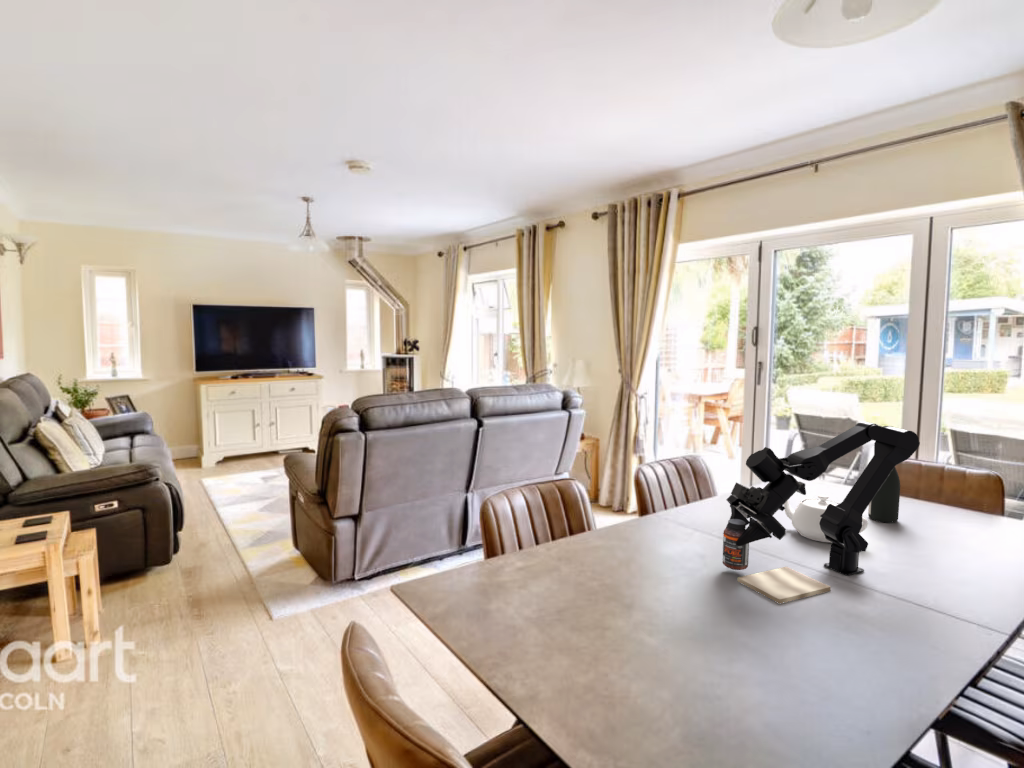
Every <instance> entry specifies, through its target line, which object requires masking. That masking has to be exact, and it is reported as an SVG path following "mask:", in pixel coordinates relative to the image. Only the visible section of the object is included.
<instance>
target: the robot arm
mask: <svg viewBox="0 0 1024 768" xmlns="http://www.w3.org/2000/svg"><path fill="white" fill-rule="evenodd" d="M871 441H875V442H874V445H873V446H874V447H873V456H872V457H871V459H870V461H869V463H867V465H866V467H865V468H864V469H863V471H862V472H861V474H860V475H859V477H858V478H857V480H856V481H855V483H854V484H853V486H852V487H851V488H850V490H849V491H848V493H847V494H846V496H845V497H844V499H843V500H842V502H840V504H838V505H836V506H834V505H832V504H829V505H828V506H827V508H826V510H825V512H824V513H823V514H822V515H820V517H822V518H821V520H820V523H819V524H820V528H821V530H822V532H823V533H824V535H825V538H826V539H827V540H829V541H831V542H830V543H831V544H830V551H829V559H828V562H825V563H823V566H824V567H826V568H828V569H830V570H833V571H834V572H838V573H840V574H841V575H845V576H852V575H855V574H860V573H864V572H865V569H864V568H861V567H859V562H860V561H859V560H860V559H859V558H860V553H861V552H866V551H867V549H868V546H869V543H868V542H867V541H866V540H865V538H864V537H863V536H862V535H861V533H859V532H860V530H861V528H862V523H863V522H862V517H863V514H864V512H865V511H866V510H867V508H869V504H870V502H871V501H872V499H873V498H874V496H875V495H876V493H877V492H878V490H879V489H880V488H881V486H882V485H883V483H884V482H885V480H886V479H887V477H888V476H889V474H890V473H891V471H892V470H893V468H894V467H895V468H896V466H898V465H900V464H901V463H903V462H905V461H907V460H909V459H910V458H911V457H912V456H913V454H915V452H916V451H917V450H918V449H919V446H920V443H921V442H920V438H919V436H918V434H917V433H916V432H914V431H912V430H910V429H909V430H908V429H904V428H899V427H894V426H892V427H886V428H884V427H883V426H881V425H878V424H877V423H873V422H869V421H860V422H858V423H856V424H855V426H852V427H851V428H849V429H847V430H845V431H843V432H841V433H839V434H838V435H836V436H834V437H832V438H830V439H829V440H827V441H826V442H823V443H822V444H820V445H818V446H815V447H812V448H811V447H810V448H805V449H801V450H798V451H795V452H792V453H790V454H788V455H787V456H786V457H780V458H779V456H777V455H776V454H775V452H774V451H773V449H771V448H770V447H767V446H765V447H764V448H763V449H760V450H758V451H755V452H754V453H751V454H749V456H748V457H747V458H746V461H745V465H746V467H747V468H748V469H749V470H750V471H752V473H753V474H754V475H755V476H756V477H757V478H758V479H759V480H760V481H761V482H762V483H767V484H766V485H765V486H764V487H763V488H762V487H760V486H758V487H754V486H751V487H748V486H745V485H744V484H741V483H739V482H737V481H736V482H735V484H734V486H733V488H732V490H731V492H730V495H729V496H728V497H727V498H726V501H727V503H728V504H729V508H730V513H731V515H730V517H729V520H730V519H739V520H742V521H744V522H745V523H746V526H747V527H746V528H745V529H746V530H745V531H744V532H743V533H742V535H741V536H740V537H739V538H738V540H737V541H736V545H737V546H742V545H745V544H748V543H749V544H750V543H753V542H754V543H755V542H756V541H757V542H758V541H759V540H764V539H768V538H769V539H771V538H773V537H774V538H776V539H778V540H779V541H781V540H782V539H783V538H784V537H785V536H786V531H787V530H786V528H785V526H783V524H782V523H781V522H780V521H778V520H777V519H776V517H774V515H775V514H776V513H777V512H778V511H779V510H780V511H781V512H783V511H785V507H784V503H785V502H786V501H787V500H788V501H789V499H790V498H791V497H792V496H793V495H795V493H796V492H797V493H799V494H800V495H803V496H806V495H807V490H806V483H805V482H802V481H798V480H797V479H796V478H799V479H802V480H803V481H808V482H810V481H811V482H812V481H814V480H816V479H818V478H819V477H820V476H821V475H822V474H824V473H825V472H826V471H827V469H828V468H829V466H830V465H831V464H833V462H836V461H837V460H839V459H840V458H842V457H844V456H846V455H848V454H849V453H850V454H851V452H853V451H855V450H856V449H858V448H860V447H862V446H864V445H866V444H867V443H870V442H871ZM786 472H787V473H789V474H787V473H786ZM795 477H796V478H795ZM727 527H728V523H727V524H726V526H725V528H727ZM771 534H772V535H771ZM722 535H724V532H722Z"/></svg>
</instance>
